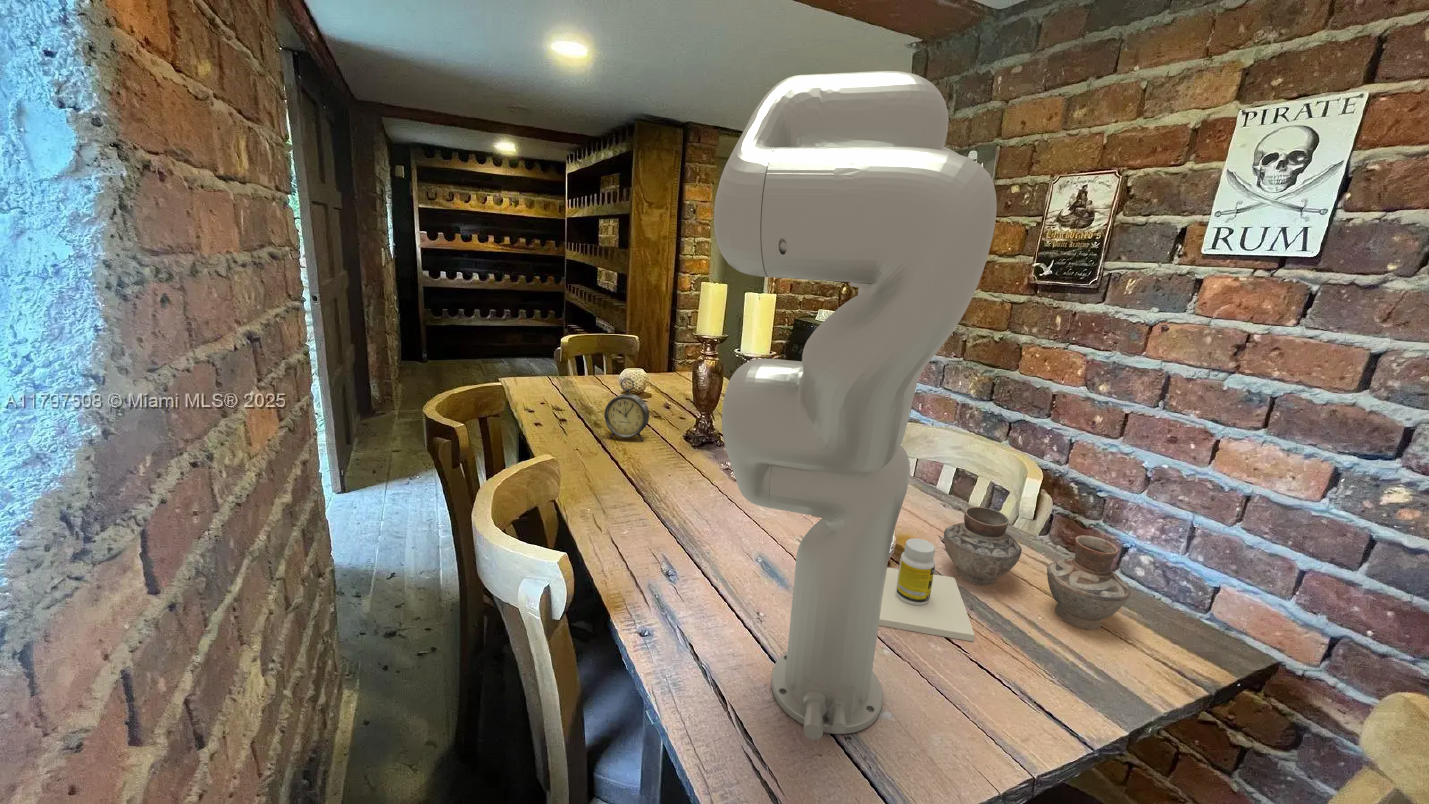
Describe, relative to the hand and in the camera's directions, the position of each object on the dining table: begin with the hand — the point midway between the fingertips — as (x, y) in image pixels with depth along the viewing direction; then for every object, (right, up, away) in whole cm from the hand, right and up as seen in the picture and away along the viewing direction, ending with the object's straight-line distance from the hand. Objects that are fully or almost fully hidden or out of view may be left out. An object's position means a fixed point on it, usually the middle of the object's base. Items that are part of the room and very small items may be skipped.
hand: (864, 396), depth 82 cm
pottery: (+25, -31, +4) cm, 40 cm away
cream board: (+7, -30, 0) cm, 31 cm away
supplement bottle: (+7, -30, 0) cm, 30 cm away
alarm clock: (-45, -11, +64) cm, 79 cm away
